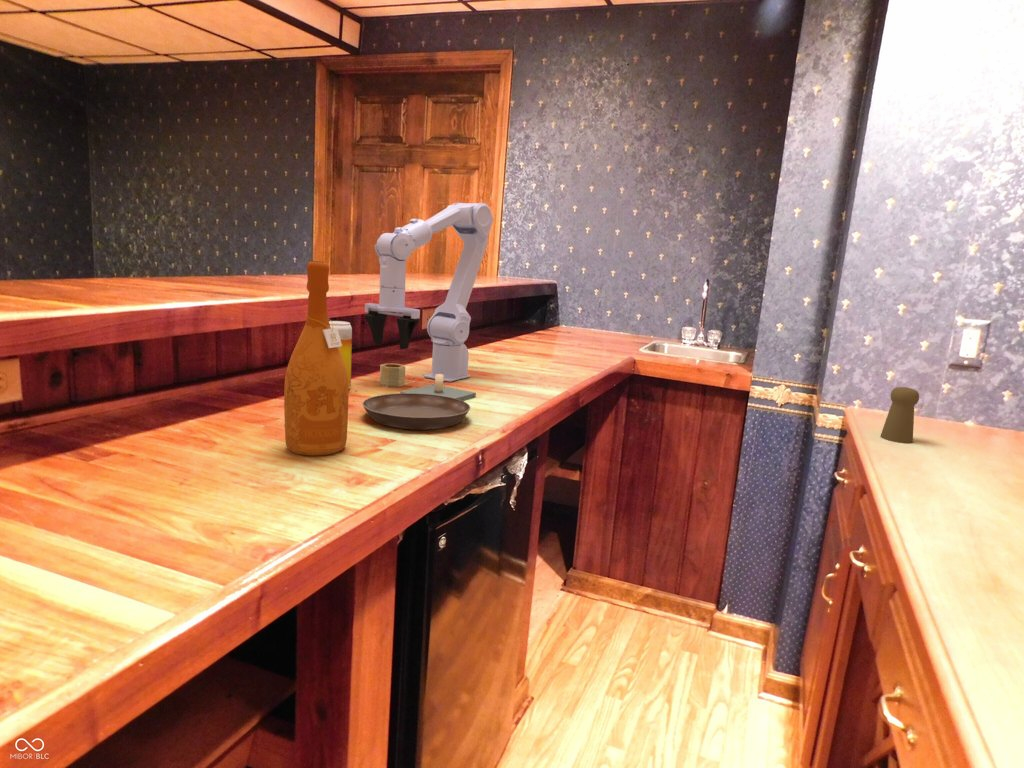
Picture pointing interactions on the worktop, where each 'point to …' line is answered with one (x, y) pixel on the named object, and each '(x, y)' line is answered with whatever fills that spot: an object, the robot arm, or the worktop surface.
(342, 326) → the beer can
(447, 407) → the plant saucer
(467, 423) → the worktop surface
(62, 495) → the worktop surface
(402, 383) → the collar
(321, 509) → the worktop surface
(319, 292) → the wine bottle
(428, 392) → the post plate
